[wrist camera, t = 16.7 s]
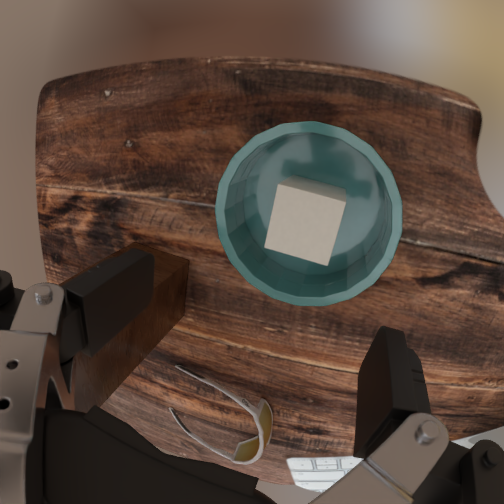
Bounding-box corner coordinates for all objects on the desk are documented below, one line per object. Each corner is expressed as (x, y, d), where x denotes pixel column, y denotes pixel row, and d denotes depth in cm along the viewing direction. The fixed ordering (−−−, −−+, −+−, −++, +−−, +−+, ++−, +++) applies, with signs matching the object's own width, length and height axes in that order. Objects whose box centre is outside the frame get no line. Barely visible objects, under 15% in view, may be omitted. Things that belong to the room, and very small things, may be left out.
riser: (134, 241, 33) (-36, 344, 13) (189, 260, 31) (19, 403, 12) (133, 295, 36) (-5, 408, 16) (183, 315, 34) (52, 460, 14)
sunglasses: (260, 453, 40) (246, 477, 35) (176, 406, 44) (157, 425, 40) (293, 401, 34) (278, 429, 30) (187, 344, 38) (163, 365, 34)
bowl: (252, 111, 25) (233, 105, 20) (410, 152, 22) (425, 154, 18) (225, 255, 30) (204, 276, 26) (364, 296, 28) (365, 326, 23)
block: (292, 174, 25) (277, 183, 20) (345, 189, 24) (346, 202, 19) (281, 225, 27) (263, 247, 22) (331, 239, 26) (327, 266, 21)
